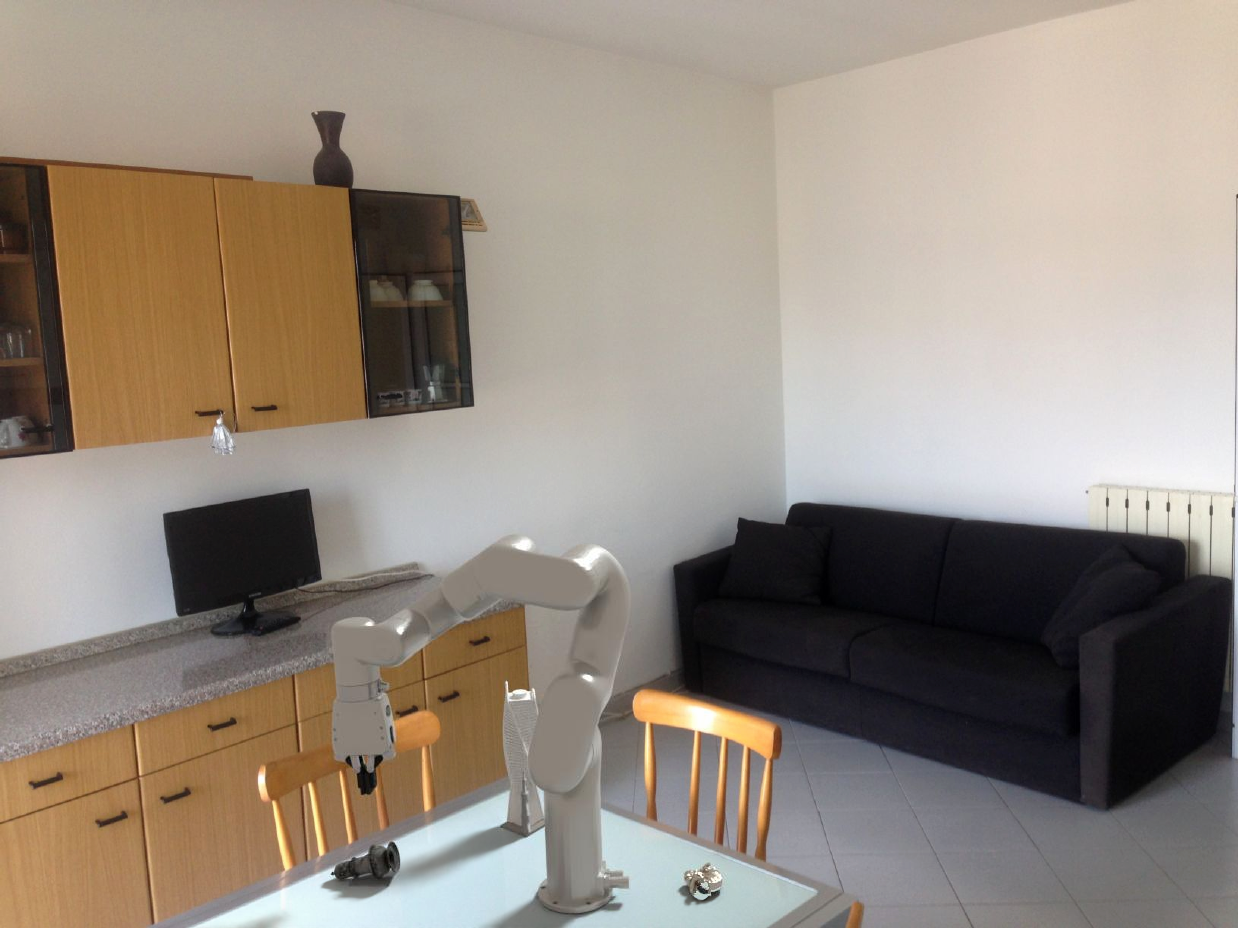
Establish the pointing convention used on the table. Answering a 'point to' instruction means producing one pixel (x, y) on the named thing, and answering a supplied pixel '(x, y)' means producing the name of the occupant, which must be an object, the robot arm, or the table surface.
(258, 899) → the table surface
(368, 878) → the grey flat slab
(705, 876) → the ornament
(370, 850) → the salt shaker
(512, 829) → the skyscraper
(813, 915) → the table surface
